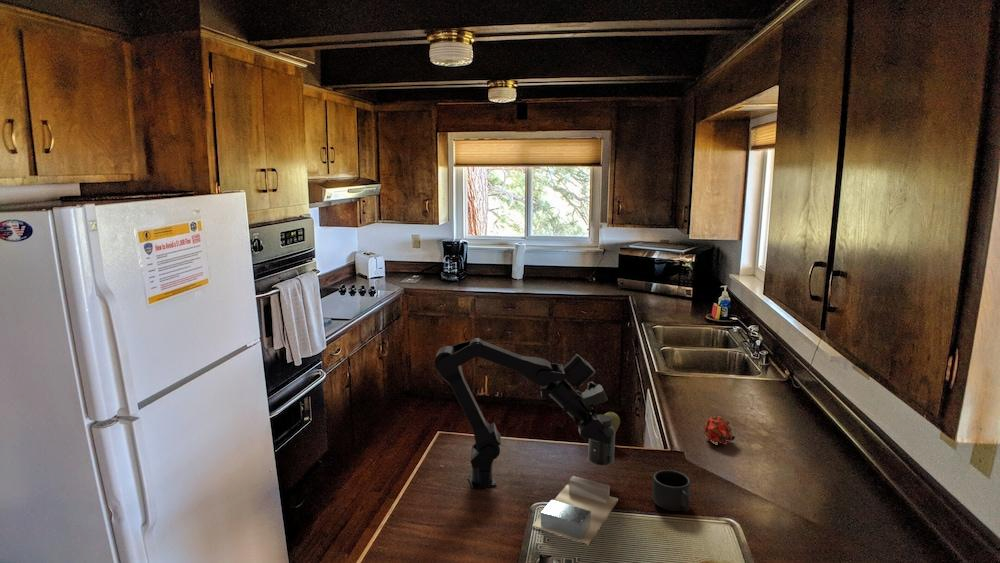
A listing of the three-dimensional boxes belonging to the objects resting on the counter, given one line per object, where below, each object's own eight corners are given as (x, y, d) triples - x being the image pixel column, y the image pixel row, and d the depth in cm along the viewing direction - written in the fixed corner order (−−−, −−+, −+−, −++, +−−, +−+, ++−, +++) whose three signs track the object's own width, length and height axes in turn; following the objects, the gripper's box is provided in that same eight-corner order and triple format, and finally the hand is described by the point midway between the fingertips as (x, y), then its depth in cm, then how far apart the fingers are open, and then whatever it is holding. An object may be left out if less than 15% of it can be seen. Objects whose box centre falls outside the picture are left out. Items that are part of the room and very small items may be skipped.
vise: (567, 486, 152) (567, 472, 151) (618, 500, 145) (618, 485, 144) (532, 527, 134) (532, 511, 133) (588, 545, 127) (589, 529, 126)
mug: (645, 497, 146) (646, 472, 145) (676, 492, 149) (677, 467, 147) (671, 524, 135) (672, 496, 134) (704, 518, 137) (705, 491, 136)
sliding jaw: (551, 513, 138) (551, 499, 137) (590, 524, 133) (590, 511, 133) (540, 525, 133) (541, 512, 132) (581, 538, 128) (581, 524, 127)
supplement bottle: (582, 458, 154) (584, 416, 152) (601, 451, 158) (602, 410, 156) (600, 468, 149) (602, 425, 147) (619, 461, 152) (621, 419, 150)
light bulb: (597, 443, 177) (598, 412, 175) (607, 437, 181) (608, 407, 179) (613, 448, 173) (614, 417, 171) (622, 442, 177) (623, 412, 175)
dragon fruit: (713, 437, 184) (723, 460, 173) (692, 423, 183) (702, 445, 172) (731, 419, 182) (743, 441, 170) (710, 404, 181) (721, 425, 169)
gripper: (596, 389, 140) (638, 432, 142) (584, 365, 159) (621, 403, 161) (563, 419, 141) (605, 461, 143) (554, 392, 160) (592, 429, 162)
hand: (607, 436), depth 152 cm, fingers closed on supplement bottle, 7 cm apart
